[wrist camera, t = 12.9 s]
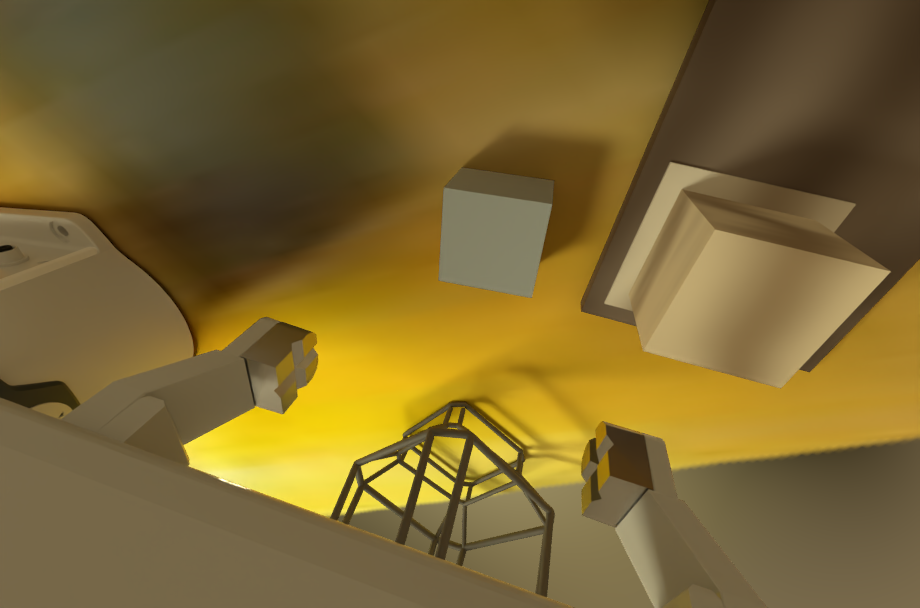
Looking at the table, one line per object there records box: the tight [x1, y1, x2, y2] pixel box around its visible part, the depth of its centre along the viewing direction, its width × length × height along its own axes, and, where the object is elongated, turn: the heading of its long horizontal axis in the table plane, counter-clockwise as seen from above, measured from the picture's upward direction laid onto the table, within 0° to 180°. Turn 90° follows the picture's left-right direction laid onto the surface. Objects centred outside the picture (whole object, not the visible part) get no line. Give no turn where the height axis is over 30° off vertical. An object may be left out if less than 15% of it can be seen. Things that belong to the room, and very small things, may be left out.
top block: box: [439, 167, 554, 298], centre depth 21 cm, size 5×5×4 cm
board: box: [581, 0, 920, 372], centre depth 16 cm, size 13×22×1 cm, turn 171°
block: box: [629, 189, 891, 388], centre depth 17 cm, size 6×6×5 cm
